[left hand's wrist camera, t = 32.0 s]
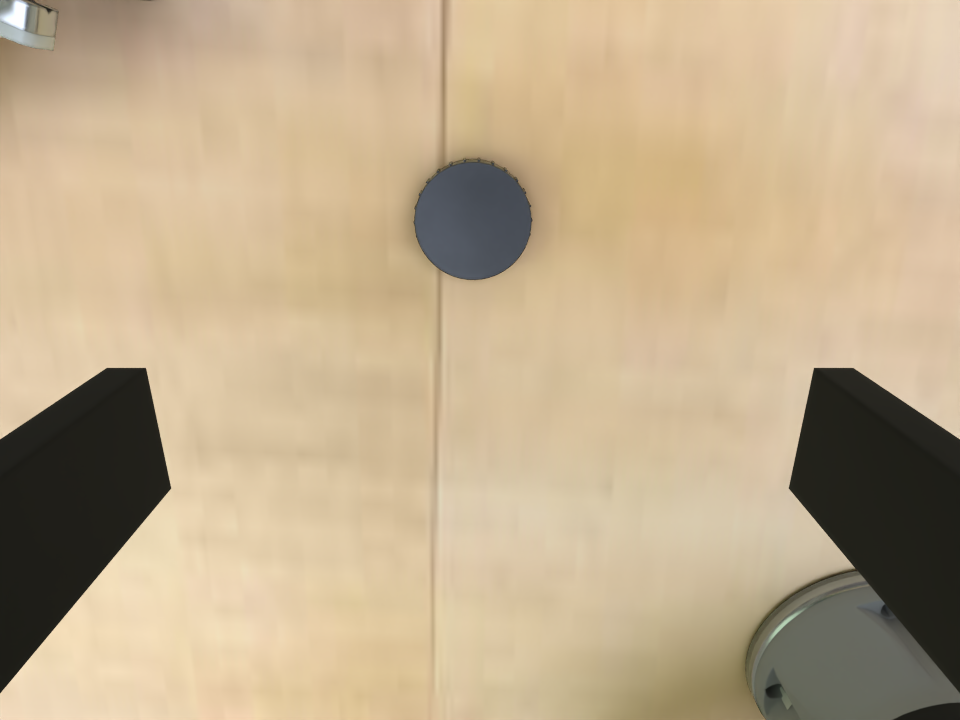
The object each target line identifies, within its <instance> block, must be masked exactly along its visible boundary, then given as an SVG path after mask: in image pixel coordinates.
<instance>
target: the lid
mask: <svg viewBox="0 0 960 720" xmlns="http://www.w3.org/2000/svg"><path fill="white" fill-rule="evenodd" d="M426 183H427V184H426V186H425V188H424V189H423V191H422V190H421V192H420V193H419V196H420V197H419V200H418V202H417V204H416V206H415V209H416V210H415V220H414V224H415V231H416V237H417V239H418V242H419V244H420V247H421V249H422V251H423V252H424V254H425V255H426V256H427V258H428V259H429V260H430V261H431V262H432V263H433V264H434V265H435V266H436V267H437V268H439V269H440V270H442V271H443V272H445V273H447V274H449V275H451V276H454V277H457V278H461V279H467V280H479V279H485V278H490V277H492V276H495V275H497V274H499V273H501V272H503V271H505V270H506V269H507V268H509V267H510V266H511V265H512V264H513V263H515V261H516V260H517V259H518V258H519V257H520V255H521V254H522V252H523V251H524V249H525V247H526V245H527V242H528V239H529V236H530V234H531V233H530V231H531V221H532V218H531V211H530V207H531V205H530V203H529V202H528V200H527V197H526V195H525V194H526V192H525V190H524V188H523V189H522V188H521V186H520V185H519V183H518V179H517V178H516V177H513V176H512V175H511V174H510V173H509V172H508V171H507V169H506V168H505V167H504V169H503V168H502V167H500V166H498V165H496V164H494V161H492V162H489V161H485V160H480V158H478V159H468V160H466V158H464V159H463V160H461V161H457V162H454V163H452V162H450V164H449V165H447V166H446V167H444V168H442V169H441V170H440V169H438V170H437V173H436V174H435V175H434V176H433V177H432V178H431V179H428V180H427V182H426Z"/></svg>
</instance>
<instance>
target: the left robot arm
mask: <svg viewBox="0 0 960 720" xmlns="http://www.w3.org/2000/svg"><path fill="white" fill-rule="evenodd" d="M170 489H171V485H170V481H169V476H168V471H167V466H166V462H165V457H164V452H163V447H162V443H161V438H160V433H159V428H158V423H157V419H156V414H155V409H154V404H153V400H152V395H151V390H150V385H149V380H148V376H147V371H146V368H106V369H105V370H103V371H102V372H100V373H99V374H97V375H96V376H94V377H93V378H91V379H90V380H88V381H87V382H85V383H84V384H82V385H81V386H79V387H78V388H76V389H75V390H73V391H72V392H70V393H69V394H67V395H66V396H64V397H63V398H61V399H60V400H58V401H57V402H55V403H54V404H52V405H51V406H50V407H48V408H47V409H45V410H44V411H42V412H41V413H39V414H38V415H36V416H35V417H33V418H32V419H30V420H29V421H27V422H26V423H24V424H23V425H21V426H20V427H18V428H17V429H15V430H14V431H12V432H11V433H9V434H8V435H6V436H5V437H3V438H2V439H0V693H1V692H2V690H3V689H4V688H5V687H6V686H7V685H8V683H9V682H10V681H11V680H12V679H13V677H14V676H15V675H16V674H17V673H18V671H19V670H20V669H21V668H22V667H23V665H24V664H25V663H26V662H27V661H28V659H29V658H30V657H31V656H32V655H33V653H34V652H35V651H36V650H37V649H38V647H39V646H40V645H41V644H42V643H43V641H44V640H45V639H46V638H47V637H48V635H49V634H50V633H51V632H52V631H53V629H54V628H55V627H56V626H57V625H58V623H59V622H60V621H61V620H62V619H63V617H64V616H65V615H66V614H67V613H68V611H69V610H70V609H71V608H72V607H73V605H74V604H75V603H76V602H77V601H78V599H79V598H80V597H81V596H82V595H83V593H84V592H85V591H86V590H87V589H88V587H89V586H90V585H91V584H92V583H93V581H94V580H95V579H96V578H97V577H98V575H99V574H100V573H101V572H102V571H103V569H104V568H105V567H106V566H107V565H108V563H109V562H110V561H111V560H112V559H113V557H114V556H115V555H116V554H117V553H118V551H119V550H120V549H121V548H122V547H123V545H124V544H125V543H126V542H127V541H128V539H129V538H130V537H131V536H132V535H133V533H134V532H135V531H136V530H137V529H138V528H139V526H140V525H141V524H142V523H143V522H144V520H145V519H146V518H147V517H148V516H149V514H150V513H151V512H152V511H153V510H154V508H155V507H156V506H157V505H158V504H159V502H160V501H161V500H162V499H163V498H164V496H165V495H166V494H167V493H168V492H169V490H170ZM789 489H790V490H791V492H792V493H793V494H794V495H795V496H796V498H797V499H798V500H799V501H800V502H801V504H802V505H803V506H804V507H805V508H806V510H807V511H808V512H809V513H810V514H811V516H812V517H813V518H814V519H815V520H816V522H817V523H818V524H819V525H820V526H821V528H822V529H823V530H824V531H825V532H826V533H827V535H828V536H829V537H830V538H831V539H832V541H833V542H834V543H835V544H836V545H837V547H838V548H839V549H840V550H841V551H842V553H843V554H844V555H845V556H846V557H847V559H848V560H849V561H850V562H851V563H852V565H853V566H854V567H855V568H856V569H857V571H853V572H848V573H844V574H840V575H836V576H833V577H830V578H827V579H825V580H822V581H820V582H817V583H815V584H813V585H811V586H809V587H807V588H805V589H803V590H801V591H800V592H798V593H796V594H795V595H793V596H792V597H790V598H789V599H787V600H786V601H785V602H784V603H782V604H781V605H780V606H779V607H777V608H776V609H775V610H774V611H773V612H772V613H771V614H770V615H769V616H768V618H767V619H766V620H765V621H764V622H763V623H762V625H761V626H760V628H759V629H758V631H757V632H756V634H755V636H754V638H753V640H752V642H751V644H750V647H749V650H748V653H747V658H746V669H745V670H746V678H747V683H748V686H749V688H750V691H751V693H752V695H753V697H754V699H755V701H756V704H757V706H758V708H759V710H760V711H761V713H762V715H763V716H764V717H765V719H766V720H960V439H958V438H957V437H955V436H954V435H952V434H951V433H949V432H948V431H946V430H945V429H943V428H942V427H940V426H939V425H937V424H936V423H934V422H933V421H931V420H930V419H928V418H927V417H925V416H924V415H922V414H921V413H919V412H918V411H916V410H915V409H913V408H912V407H910V406H909V405H908V404H906V403H905V402H903V401H902V400H900V399H899V398H897V397H896V396H894V395H893V394H891V393H890V392H888V391H887V390H885V389H884V388H882V387H881V386H879V385H878V384H876V383H875V382H873V381H872V380H870V379H869V378H867V377H866V376H864V375H863V374H861V373H860V372H858V371H857V370H855V369H854V368H814V371H813V376H812V380H811V385H810V390H809V395H808V400H807V404H806V409H805V414H804V419H803V423H802V428H801V433H800V438H799V443H798V447H797V452H796V457H795V462H794V466H793V471H792V476H791V481H790V485H789Z"/></svg>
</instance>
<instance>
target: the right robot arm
mask: <svg viewBox="0 0 960 720" xmlns="http://www.w3.org/2000/svg"><path fill="white" fill-rule="evenodd" d="M58 12H59V11H58V10H56V9H54V8H52V7H49V6H47V5H43V4H39V3H36V2H35V1H34V0H0V38H2V37H3V38H6V39H8V40H11V41H13V42H16V43H18V44H21V45H25V46H28V47H32V48H36V49H44V50H52V51H53V50H54V43H55V35H56V27H57V19H58Z"/></svg>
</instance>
